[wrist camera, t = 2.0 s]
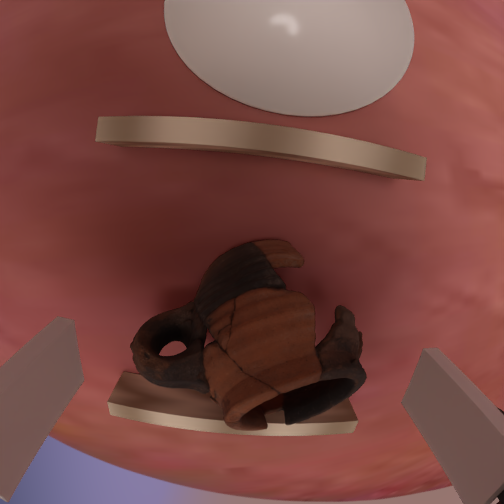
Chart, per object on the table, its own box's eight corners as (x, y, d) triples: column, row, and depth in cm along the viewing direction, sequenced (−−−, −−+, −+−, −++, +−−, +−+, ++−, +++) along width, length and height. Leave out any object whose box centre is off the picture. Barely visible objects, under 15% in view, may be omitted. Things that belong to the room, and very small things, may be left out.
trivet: (191, -76, 11) (191, -78, 11) (403, -39, 12) (404, -41, 12) (143, 104, 15) (141, 103, 15) (410, 142, 16) (413, 142, 16)
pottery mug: (337, 221, 17) (415, 335, 11) (305, 321, 23) (345, 415, 17) (118, 240, 14) (109, 396, 9) (148, 343, 21) (159, 453, 15)
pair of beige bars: (125, 384, 20) (110, 414, 16) (124, 126, 15) (98, 116, 12) (340, 401, 21) (353, 432, 17) (395, 159, 16) (426, 157, 13)
